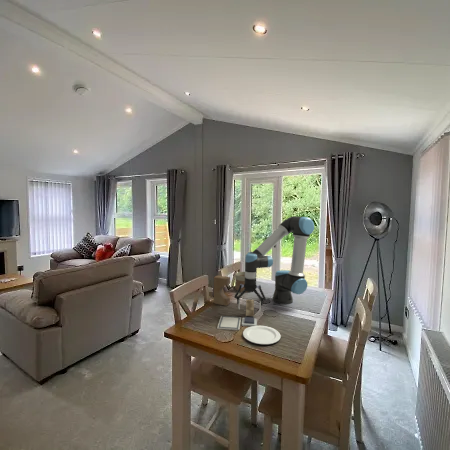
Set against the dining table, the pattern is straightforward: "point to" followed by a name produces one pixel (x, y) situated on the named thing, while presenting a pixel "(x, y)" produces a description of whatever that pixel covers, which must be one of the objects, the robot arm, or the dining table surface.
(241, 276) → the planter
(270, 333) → the plate
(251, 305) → the stamp
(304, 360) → the dining table surface
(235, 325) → the board
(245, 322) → the ink pad
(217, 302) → the decorative block
